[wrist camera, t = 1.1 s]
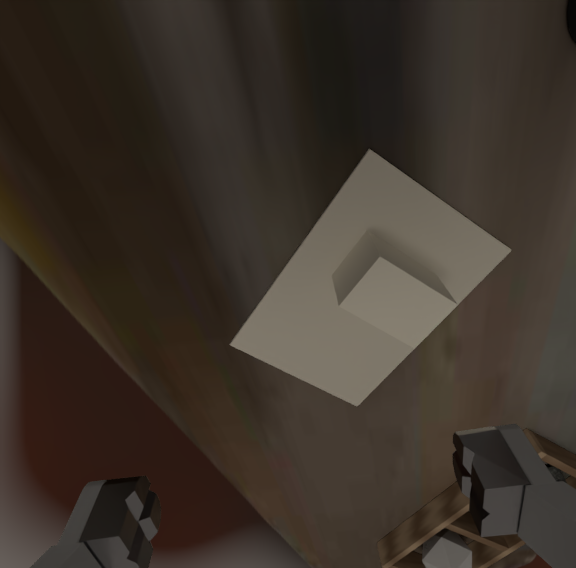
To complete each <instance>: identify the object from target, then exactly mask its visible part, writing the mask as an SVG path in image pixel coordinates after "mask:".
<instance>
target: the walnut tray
mask: <svg viewBox="0 0 576 568" xmlns="http://www.w3.org/2000/svg"><path fill="white" fill-rule="evenodd" d="M523 432H524V434H525V435H526V437H527V438H528V440H529V441H530V443H531V444H532V446H533V447H534V449H535V450H536V452H537V453H538V455H539V456H540V458H541V459H542V460H543V461H545V462H546V463H548V464H550V465H552V466H554V467H556V468H558V469H560V470H562V471H564V472H566V473H568V474H570V475H571V476H570V477H568V478H567V479H565V481H566V482H567V484H568V485H570V486H572V487H573V488H575V489H576V455H575V454H573V453H571V452H569V451H567V450H565V449H564V448H562V447H560V446H558V445H556V444H554V443H552V442H551V441H549V440H547V439H545V438H543V437H541V436H540V435H538V434H536V433H534V432H532V431H530V430H529V429H527V428H526V429H524V430H523ZM469 502H470V499H469V498H468V497H467V496H465V495H464V494H463V493H462V492H461V489H460V487H459V485H458V482H455V483H454V484H453V485H451V486H450V487H449V488H448V489H446V490H445V491H444V492H442V493H441V494H440V495H438V496H437V497H436V498H434V499H433V500H432V501H431V502H429V503H428V504H427V505H425V506H424V507H423V508H421V509H420V510H419V511H418V512H416V513H415V514H414V515H412V516H411V517H410V518H408V519H407V520H406V521H404V522H403V523H402V524H401V525H399V526H398V527H397V528H395V529H394V530H393V531H391V532H390V533H389V534H388V535H386V536H385V537H384V538H382V539H381V540H380V541H378V542H377V545H378V550H379V555H380V560H381V565H382V567H384V568H426V567H425V565H424V564H423V561H422V554H419V553H416V552H414V551H413V550H414V549H416V548H417V547H418V546H420V545H421V544H423V543H424V542H425V541H427V540H428V539H430V538H431V537H432V536H434V535H435V534H437V533H438V532H439V531H441V530H442V529H444V528H446V529H449V530H451V531H454V532H456V533H459V534H461V535H463V536H466V537H468V538H471V539H473V540H474V541H472V542H471V543H469V544H468V545H467V546H468V547H469V548H470V549H471V551H472V568H487V567H488V566H490V565H492V564H493V563H495V562H497V561H498V560H500V559H501V558H503V557H505V556H506V555H508V554H509V553H511V552H513V551H514V550H516V549H517V548H519V547H521V546H522V545H524V544H526V543H525V542H524V541H523V540H522V539H521V538H520V537H518V534H510V535H499V536H488V537H481V536H480V534H479V532H478V529H477V527H476V525H475V522H474V520H473V518H472V515H471V513H470V512H468V511H469Z"/></svg>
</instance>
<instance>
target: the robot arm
mask: <svg viewBox="0 0 576 568" xmlns="http://www.w3.org/2000/svg"><path fill="white" fill-rule="evenodd" d="M453 444H454V446H455V448H456V451H455V452H454V453H453V467H454V472H455V476H456V479H457V482H458V485H459V487H460V489H461V492H462V493H463V494H464V495H465V496H467V497H468V498H469V499H470V502H469V511H470V513H471V515H472V518H473V520H474V522H475V525H476V527H477V529H478V532H479V534H480V536H481V537H488V536H499V535H510V534H518V537H520V538H521V539H522V540H523V541H524V542H525V543H526V544H527V545H528V546H529V547H531V548H532V549H533V550H534V551H535V552H536V553H537V554H538V555H539V556H540V557H541V558H543V559H544V560H545V561H546V562H547V563H548V564H549V565H550V566H551V567H552V568H576V489H575V488H573V487H572V486H570V485H568V484H567V483H565V482H564V481H558V482H556V480H555V479H554V477H553V476H552V474H551V473H550V471H549V470H548V468H547V467H546V465H545V464H544V462H543V461H542V459H541V458H540V456H539V455H538V453H537V452H536V450H535V449H534V447H533V446H532V444H531V443H530V441H529V440H528V438H527V437H526V435H525V434H524V432H523V431H522V429H521V428H520V427H519V426H518V425H517V424H509V425H502V426H496V427H493V426H492V427H485V428H479V429H472V430H466V431H459V432H455V433H454V435H453ZM150 484H151V483H150V482H149V480H148V478H147V477H146V476H138V477H129V478H120V479H111V480H102V481H94V482H89V483H88V484H87V485H86V486H85V487H84V488H83V491H82V493H81V495H80V497H79V499H78V501H77V503H76V506H75V508H74V510H73V512H72V514H71V517H70V519H69V521H68V523H67V525H66V527H65V529H64V531H63V534H62V536H61V538H60V540H59V542H58V544H57V545H56V546H51V547H50V548H49V549H48V550H47V551H46V552H45V553H44V554H43V555H42V556H41V557H40V558H39V559H38V560H37V561H36V562H35V563H34V564H33V565H32V566H31V567H30V568H148V567H149V563H150V559H151V556H152V552H153V548H152V546H151V543H150V540H151V539H152V538H153V537H154V535H155V534H156V533H157V532H158V528H159V524H160V520H161V519H160V518H161V506H160V501H159V498H158V496H157V494H155V493H154V492H152V491H150V490H149V487H150Z"/></svg>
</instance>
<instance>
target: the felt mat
mask: <svg viewBox="0 0 576 568" xmlns="http://www.w3.org/2000/svg"><path fill="white" fill-rule="evenodd" d="M367 230H368V231H369V232H371V233H372V234H374V235H375V236H377V237H379V238H380V239H382V240H383V241H385V242H386V243H388V244H390V245H391V246H393V247H394V248H396V249H397V250H399V251H400V252H402V253H404V254H405V255H407V256H408V257H410V258H411V259H413V260H415V261H416V262H418V263H419V264H421V265H422V266H424V267H426V268H427V269H429V270H430V271H432V272H433V273H435V274H436V275H437V276H438V277H439V279H440V280H441V282H442V283H443V284H444V286H445V287H446V289H447V290H448V291H449V293H450V294H451V296H452V297H453V299H454V300H455V301H456V303H457V304H459V303H460V302H461V301H462V300H463V299H464V298H465V297H466V296H467V295H468V294H469V293H470V292H471V291H472V290H473V289H474V288H475V287H476V286H477V285H478V284H479V283H480V282H481V281H482V280H483V279H484V278H485V277H486V276H487V275H488V274H489V273H490V272H491V271H492V270H493V269H494V268H495V267H496V266H497V265H498V264H499V263H500V262H501V261H502V260H503V259H504V258H505V257H506V256H507V255H508V254H509V253H510V251H511V249H510V248H508V247H507V246H506V245H504V244H503V243H501V242H500V241H499V240H497V239H496V238H494V237H493V236H492V235H490V234H489V233H487V232H486V231H485V230H483V229H482V228H480V227H479V226H477V225H476V224H475V223H473V222H472V221H470V220H469V219H468V218H466V217H465V216H463V215H462V214H461V213H459V212H458V211H456V210H455V209H454V208H452V207H451V206H449V205H448V204H447V203H445V202H444V201H442V200H441V199H439V198H438V197H437V196H435V195H434V194H432V193H431V192H430V191H428V190H427V189H425V188H424V187H423V186H421V185H420V184H418V183H417V182H416V181H414V180H413V179H411V178H410V177H409V176H407V175H406V174H404V173H403V172H402V171H400V170H399V169H397V168H396V167H394V166H393V165H392V164H390V163H389V162H387V161H386V160H385V159H383V158H382V157H380V156H379V155H378V154H376V153H375V152H373V151H372V150H371V149H368V150H367V152H366V153H365V155H364V156H363V158H362V159H361V160H360V162H359V163H358V165H357V166H356V167H355V169H354V170H353V172H352V173H351V174H350V176H349V177H348V179H347V180H346V181H345V183H344V184H343V186H342V187H341V188H340V190H339V191H338V193H337V194H336V195H335V197H334V198H333V200H332V201H331V202H330V204H329V205H328V207H327V208H326V209H325V211H324V212H323V214H322V215H321V216H320V218H319V219H318V221H317V222H316V223H315V225H314V226H313V228H312V229H311V230H310V232H309V233H308V235H307V236H306V237H305V239H304V240H303V242H302V243H301V244H300V246H299V247H298V249H297V250H296V251H295V253H294V254H293V256H292V257H291V258H290V260H289V261H288V263H287V264H286V265H285V267H284V268H283V270H282V271H281V272H280V274H279V275H278V277H277V278H276V279H275V281H274V282H273V284H272V285H271V286H270V288H269V289H268V291H267V292H266V293H265V295H264V296H263V298H262V299H261V300H260V302H259V303H258V305H257V306H256V307H255V309H254V310H253V312H252V313H251V314H250V316H249V317H248V319H247V320H246V321H245V323H244V324H243V326H242V327H241V328H240V330H239V331H238V333H237V334H236V335H235V337H234V338H233V340H232V341H231V342H230V345H231V346H233V347H235V348H237V349H239V350H241V351H243V352H245V353H247V354H249V355H252V356H254V357H256V358H258V359H260V360H262V361H264V362H266V363H268V364H270V365H272V366H274V367H276V368H278V369H281V370H283V371H285V372H287V373H289V374H291V375H293V376H295V377H297V378H299V379H301V380H303V381H305V382H307V383H310V384H312V385H314V386H316V387H318V388H320V389H322V390H324V391H326V392H328V393H330V394H332V395H334V396H336V397H339V398H341V399H343V400H345V401H347V402H349V403H351V404H353V405H355V406H358V405H359V404H360V403H361V402H362V401H363V400H364V399H365V398H366V397H367V396H368V395H369V394H370V393H371V392H372V391H373V390H374V389H375V388H376V387H377V386H378V385H379V384H380V383H381V382H382V381H383V380H384V379H385V378H386V377H387V376H388V375H389V374H390V373H391V372H392V371H393V370H394V369H395V368H396V367H397V366H398V365H399V364H400V363H401V362H402V361H403V360H404V359H405V358H406V357H407V356H408V355H409V354H410V353H411V352H412V351H413V350H414V348H412V347H411V346H409V345H407V344H405V343H403V342H402V341H400V340H398V339H396V338H395V337H393V336H391V335H389V334H387V333H386V332H384V331H382V330H380V329H378V328H377V327H375V326H373V325H371V324H370V323H368V322H366V321H364V320H362V319H361V318H359V317H357V316H355V315H353V314H352V313H350V312H348V311H346V310H345V309H343V308H341V307H339V305H338V301H337V296H336V292H335V288H334V284H333V279H332V274H333V273H334V272H335V271H336V269H337V268H338V267H339V266H340V264H341V263H342V262H343V260H344V259H345V258H346V257H347V255H348V254H349V253H350V251H351V250H352V249H353V248H354V246H355V245H356V244H357V243H358V241H359V240H360V239H361V237H362V236H363V235H364V234H365V232H366V231H367Z"/></svg>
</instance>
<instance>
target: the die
mask: <svg viewBox="0 0 576 568" xmlns="http://www.w3.org/2000/svg"><path fill="white" fill-rule="evenodd" d="M422 561H423V564H424V565H425V567H426V568H472V551H471V549H470V548H469V547H468V546H467V545H466V543H465V542H464V541H463V540H462V538H461V537H460V536H459V535H458V533H456V532H454V531H451V530H449V529H446V528H445V529H442V530H441V531H439V532H438V533H437V534H435V535H434V536H432V537H431V538H430V539H428V540H427V541H425V542H424V543H423V554H422Z"/></svg>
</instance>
